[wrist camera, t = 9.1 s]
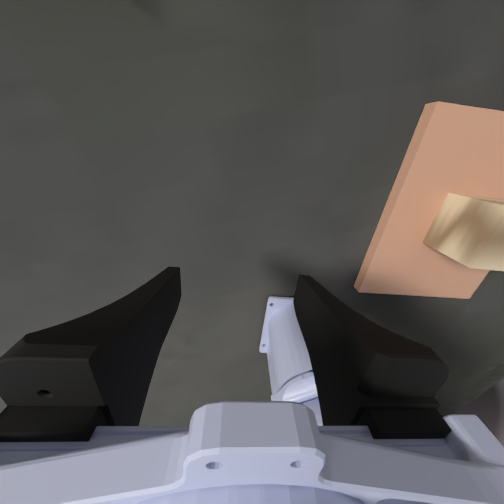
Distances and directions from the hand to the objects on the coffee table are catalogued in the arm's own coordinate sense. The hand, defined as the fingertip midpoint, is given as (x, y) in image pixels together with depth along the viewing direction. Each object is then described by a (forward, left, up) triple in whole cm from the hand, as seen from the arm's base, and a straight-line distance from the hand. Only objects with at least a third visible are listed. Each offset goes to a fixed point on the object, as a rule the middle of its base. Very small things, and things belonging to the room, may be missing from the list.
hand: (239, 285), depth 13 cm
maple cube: (+3, -21, -8) cm, 23 cm away
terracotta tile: (+3, -21, -9) cm, 23 cm away
